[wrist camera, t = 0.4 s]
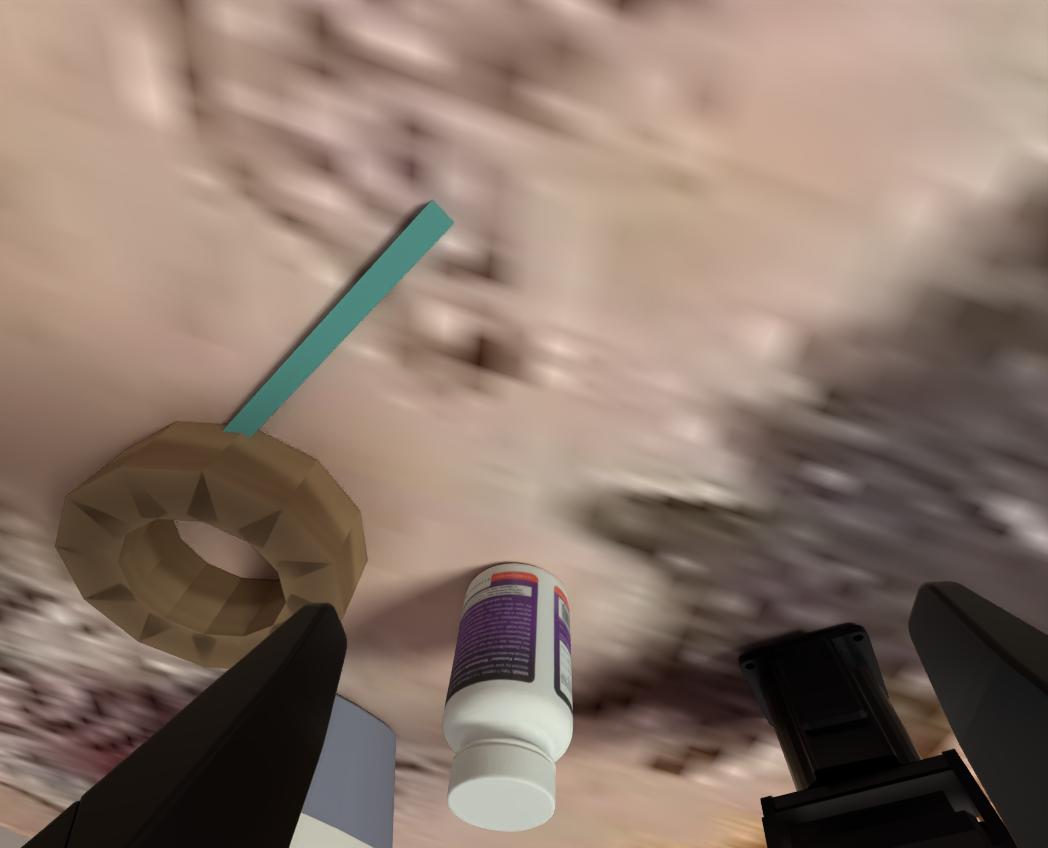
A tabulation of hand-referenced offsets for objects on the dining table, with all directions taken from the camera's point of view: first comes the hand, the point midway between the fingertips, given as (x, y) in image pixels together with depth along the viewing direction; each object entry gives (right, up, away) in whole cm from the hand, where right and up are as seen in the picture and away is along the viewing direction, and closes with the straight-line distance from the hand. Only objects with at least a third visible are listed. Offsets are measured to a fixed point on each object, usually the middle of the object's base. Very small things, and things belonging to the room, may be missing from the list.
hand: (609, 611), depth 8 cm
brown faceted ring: (-15, -2, +18) cm, 24 cm away
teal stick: (-9, +6, +13) cm, 17 cm away
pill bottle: (-2, -6, +20) cm, 21 cm away
